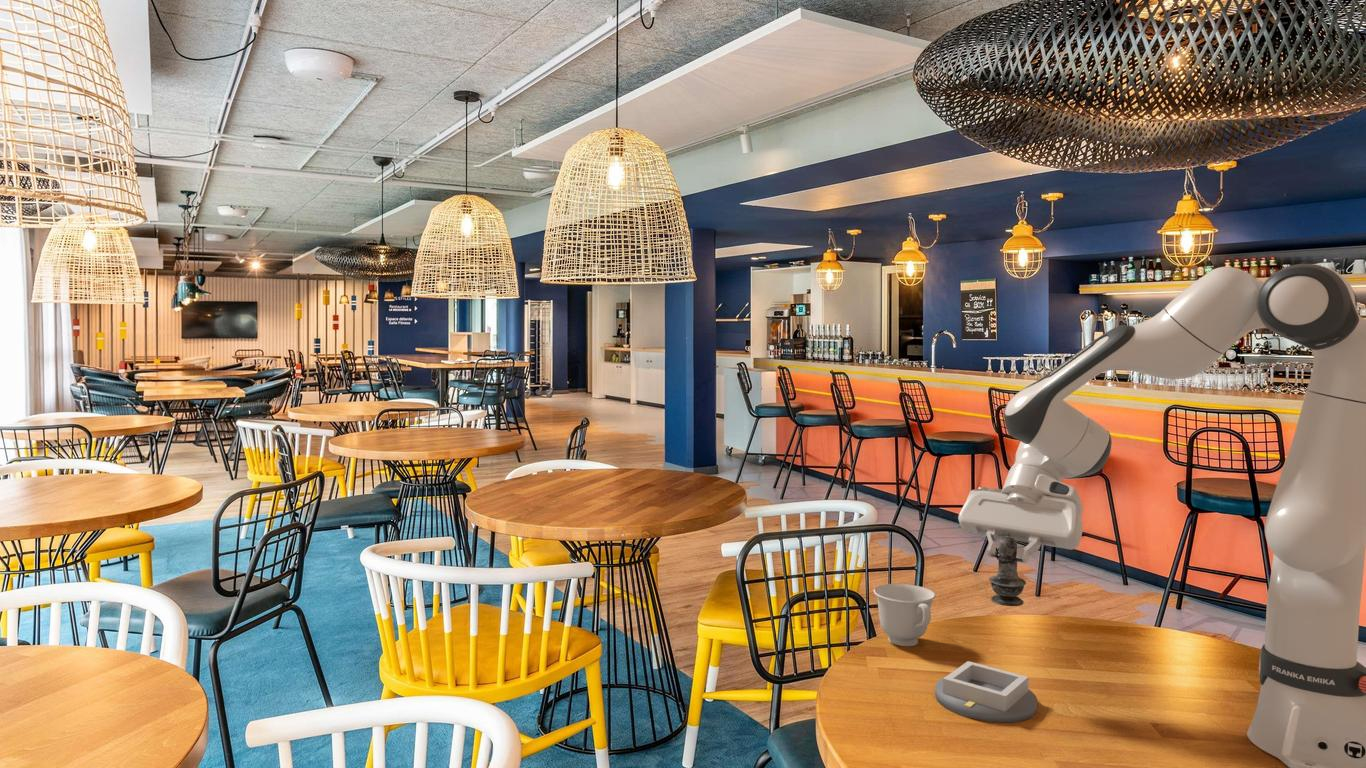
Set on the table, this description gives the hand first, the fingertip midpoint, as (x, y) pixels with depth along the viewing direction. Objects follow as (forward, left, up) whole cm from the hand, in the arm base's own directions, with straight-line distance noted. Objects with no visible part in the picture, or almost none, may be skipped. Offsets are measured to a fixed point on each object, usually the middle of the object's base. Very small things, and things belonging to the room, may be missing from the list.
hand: (1006, 558), depth 145 cm
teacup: (+23, -11, -24) cm, 35 cm away
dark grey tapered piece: (0, -1, -8) cm, 8 cm away
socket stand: (+1, +5, -23) cm, 24 cm away
